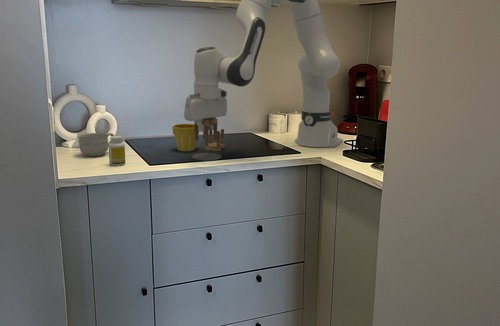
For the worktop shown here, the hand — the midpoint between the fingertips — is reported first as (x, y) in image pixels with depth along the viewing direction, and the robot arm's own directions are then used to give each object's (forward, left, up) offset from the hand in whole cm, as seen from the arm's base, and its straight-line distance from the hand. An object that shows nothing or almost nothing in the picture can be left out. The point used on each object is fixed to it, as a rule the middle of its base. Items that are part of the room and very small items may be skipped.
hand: (206, 130), depth 185 cm
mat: (0, 0, -10) cm, 10 cm away
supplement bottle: (+28, -17, -10) cm, 34 cm away
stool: (0, 0, -4) cm, 4 cm away
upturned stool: (-13, -7, -10) cm, 18 cm away
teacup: (+22, -35, -10) cm, 42 cm away
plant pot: (-5, -15, -10) cm, 19 cm away
